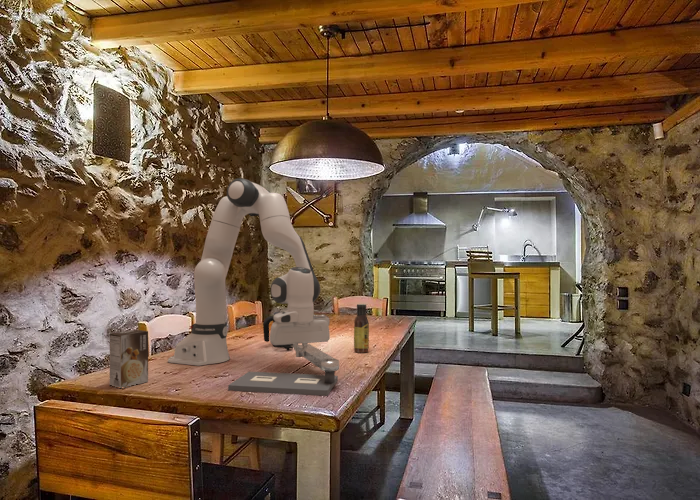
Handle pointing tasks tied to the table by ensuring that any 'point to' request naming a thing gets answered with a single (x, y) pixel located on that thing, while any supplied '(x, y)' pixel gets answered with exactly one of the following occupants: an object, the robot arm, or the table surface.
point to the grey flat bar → (320, 358)
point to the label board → (285, 383)
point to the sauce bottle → (361, 330)
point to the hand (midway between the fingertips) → (300, 356)
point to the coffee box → (128, 358)
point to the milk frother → (266, 332)
